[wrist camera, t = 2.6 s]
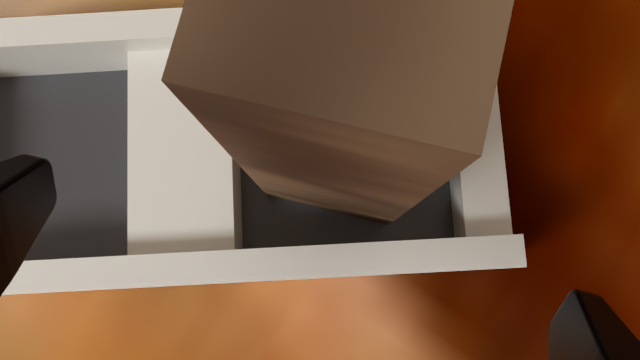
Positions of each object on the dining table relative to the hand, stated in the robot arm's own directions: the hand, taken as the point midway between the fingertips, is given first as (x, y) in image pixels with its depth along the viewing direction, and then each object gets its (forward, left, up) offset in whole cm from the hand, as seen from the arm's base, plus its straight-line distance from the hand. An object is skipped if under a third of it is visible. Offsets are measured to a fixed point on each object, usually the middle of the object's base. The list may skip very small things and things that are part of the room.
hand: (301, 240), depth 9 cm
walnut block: (+2, -3, -10) cm, 11 cm away
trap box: (+7, +3, -11) cm, 13 cm away
